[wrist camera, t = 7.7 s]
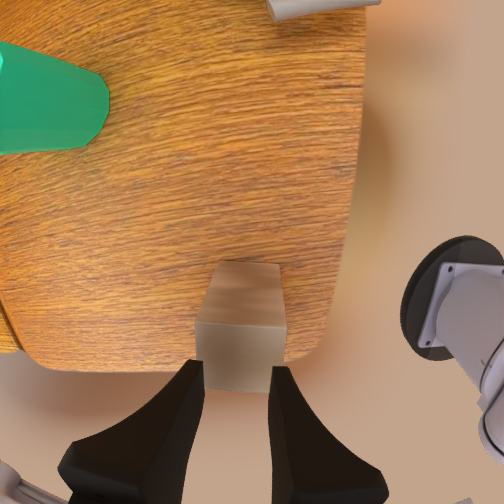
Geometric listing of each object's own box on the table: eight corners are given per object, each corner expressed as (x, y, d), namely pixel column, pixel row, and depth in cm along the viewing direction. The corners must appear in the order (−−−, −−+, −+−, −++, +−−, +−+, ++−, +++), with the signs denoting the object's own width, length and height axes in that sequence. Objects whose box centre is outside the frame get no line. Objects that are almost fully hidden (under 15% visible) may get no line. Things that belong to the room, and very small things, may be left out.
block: (279, 263, 20) (287, 327, 13) (274, 316, 22) (278, 394, 14) (218, 259, 20) (194, 321, 13) (218, 312, 22) (197, 388, 14)
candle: (119, 70, 17) (-4, 18, 5) (100, 154, 18) (-38, 171, 7) (56, 71, 16) (-64, 44, 5) (40, 146, 18) (-86, 162, 7)
